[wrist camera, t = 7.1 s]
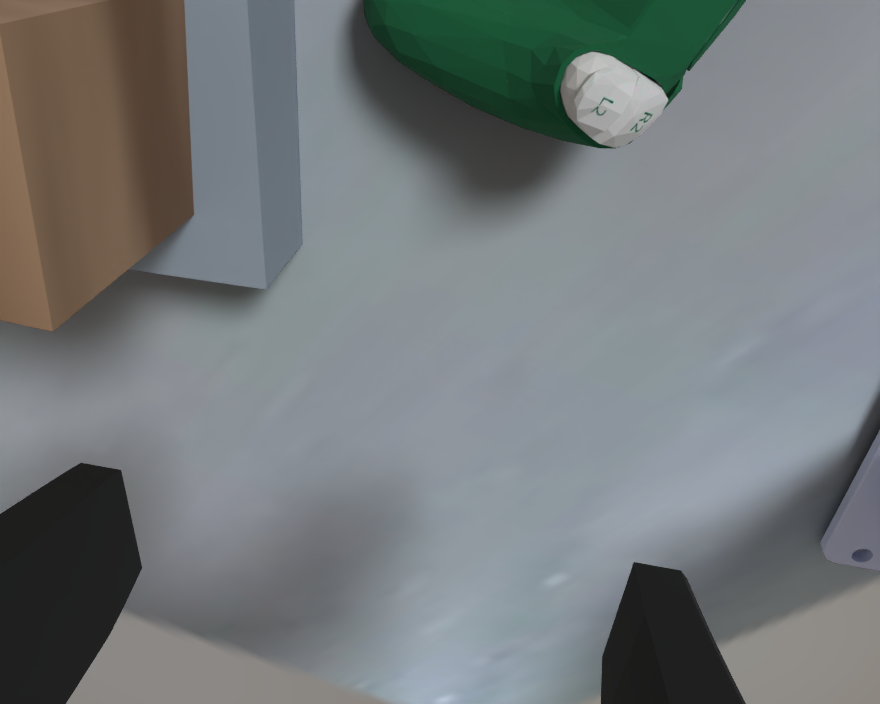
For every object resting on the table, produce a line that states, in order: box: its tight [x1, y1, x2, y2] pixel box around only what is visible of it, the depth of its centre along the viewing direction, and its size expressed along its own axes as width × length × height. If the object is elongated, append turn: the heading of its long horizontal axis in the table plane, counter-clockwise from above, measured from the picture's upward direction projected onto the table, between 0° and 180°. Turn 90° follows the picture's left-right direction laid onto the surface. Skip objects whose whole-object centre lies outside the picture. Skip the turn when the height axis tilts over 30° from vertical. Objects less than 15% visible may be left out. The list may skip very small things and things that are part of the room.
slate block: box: [128, 0, 302, 289], centre depth 16 cm, size 8×8×3 cm
